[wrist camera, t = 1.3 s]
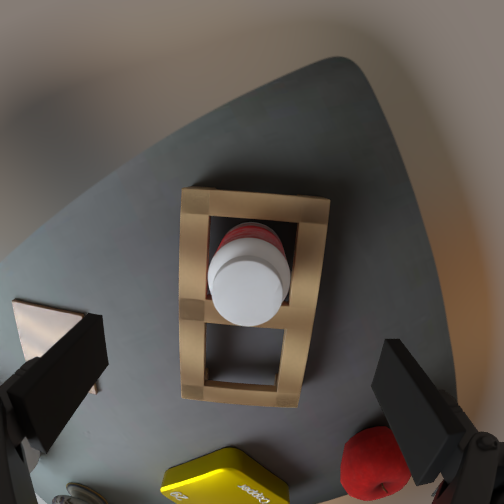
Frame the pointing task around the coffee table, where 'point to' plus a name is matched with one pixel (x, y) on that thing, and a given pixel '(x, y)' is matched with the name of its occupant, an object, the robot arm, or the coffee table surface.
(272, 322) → the bottle rack
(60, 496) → the apothecary jar
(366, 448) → the apple
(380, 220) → the coffee table surface
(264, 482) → the element tile
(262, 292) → the pill bottle
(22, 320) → the brown flat square
